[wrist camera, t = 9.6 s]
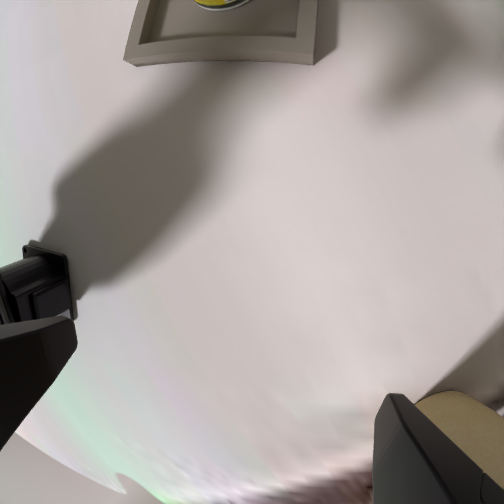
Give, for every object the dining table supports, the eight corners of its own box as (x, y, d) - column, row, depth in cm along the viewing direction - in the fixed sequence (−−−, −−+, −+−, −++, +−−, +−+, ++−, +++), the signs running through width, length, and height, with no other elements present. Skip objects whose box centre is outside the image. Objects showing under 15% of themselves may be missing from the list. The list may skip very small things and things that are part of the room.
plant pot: (521, 397, 17) (581, 510, 2) (406, 482, 22) (416, 602, 6) (463, 311, 17) (586, 483, 2) (315, 430, 21) (292, 607, 6)
